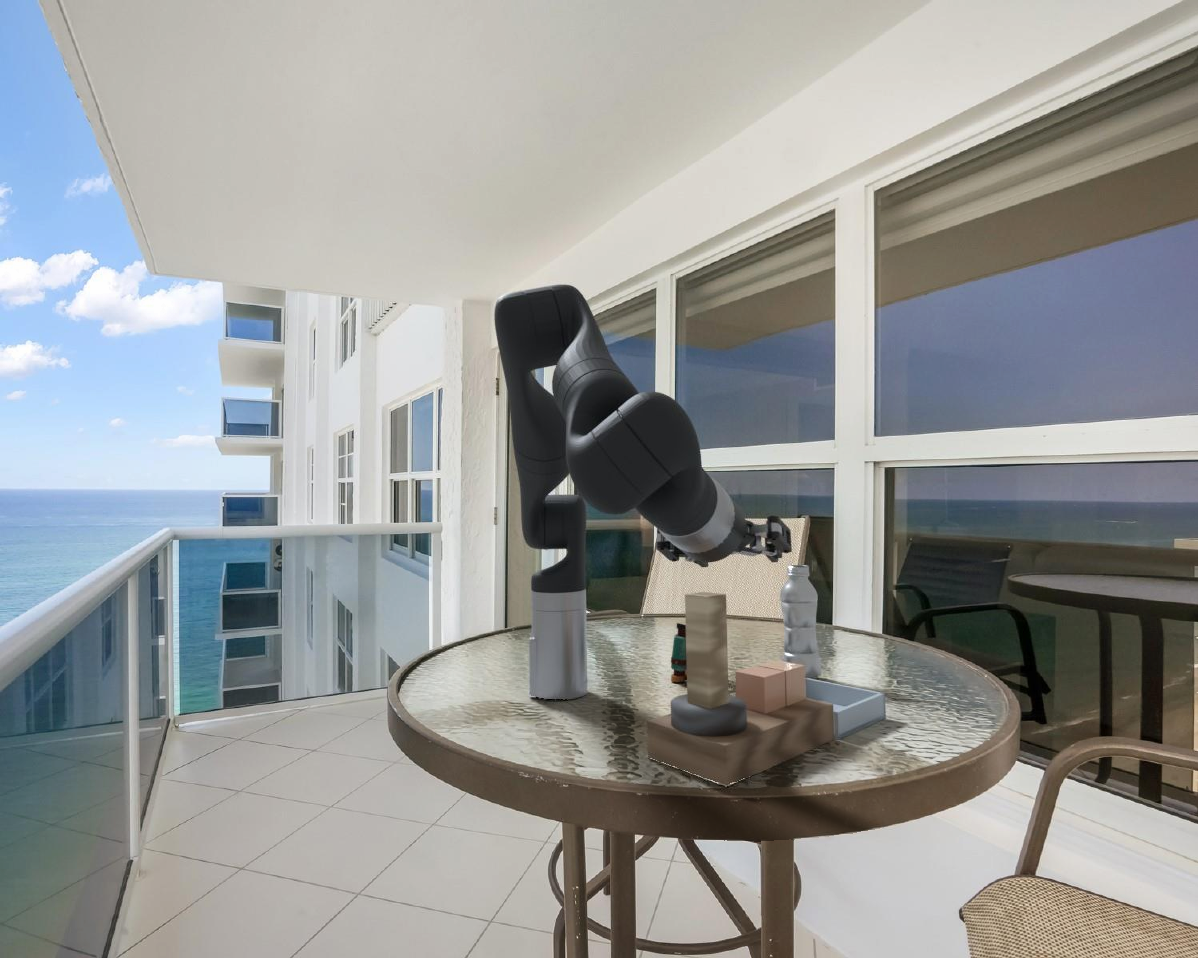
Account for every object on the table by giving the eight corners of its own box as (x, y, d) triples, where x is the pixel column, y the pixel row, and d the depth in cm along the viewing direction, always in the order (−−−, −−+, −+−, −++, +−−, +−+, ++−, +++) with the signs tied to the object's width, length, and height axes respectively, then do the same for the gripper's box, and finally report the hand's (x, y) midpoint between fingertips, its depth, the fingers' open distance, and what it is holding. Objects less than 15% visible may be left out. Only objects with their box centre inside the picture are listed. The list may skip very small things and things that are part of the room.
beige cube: (787, 705, 87) (785, 670, 87) (758, 698, 90) (757, 665, 90) (805, 699, 90) (804, 665, 90) (777, 692, 93) (776, 660, 93)
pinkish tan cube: (765, 713, 84) (764, 677, 84) (736, 706, 87) (735, 671, 87) (785, 706, 87) (784, 671, 87) (756, 699, 90) (755, 665, 90)
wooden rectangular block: (726, 787, 72) (725, 745, 72) (647, 758, 81) (647, 720, 81) (834, 739, 87) (833, 704, 87) (757, 718, 96) (756, 686, 96)
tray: (838, 739, 87) (837, 712, 87) (755, 717, 96) (755, 693, 97) (885, 718, 95) (884, 693, 95) (805, 699, 105) (804, 677, 105)
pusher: (714, 741, 74) (710, 601, 74) (655, 723, 80) (652, 594, 81) (762, 724, 79) (758, 593, 80) (704, 708, 86) (701, 588, 87)
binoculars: (714, 633, 111) (664, 621, 117) (710, 696, 111) (660, 681, 117) (739, 625, 118) (691, 615, 124) (735, 684, 118) (687, 671, 124)
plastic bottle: (824, 684, 114) (820, 567, 115) (783, 682, 116) (779, 567, 117) (819, 674, 121) (815, 564, 122) (780, 673, 122) (777, 564, 123)
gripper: (766, 472, 65) (797, 521, 79) (633, 489, 71) (683, 532, 85) (770, 546, 63) (801, 584, 76) (631, 557, 69) (683, 590, 82)
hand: (739, 556), depth 80 cm, fingers open, 8 cm apart
